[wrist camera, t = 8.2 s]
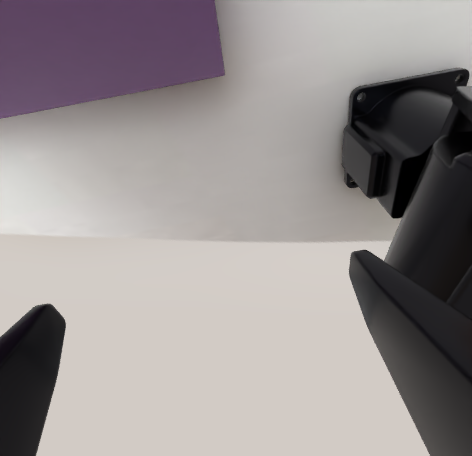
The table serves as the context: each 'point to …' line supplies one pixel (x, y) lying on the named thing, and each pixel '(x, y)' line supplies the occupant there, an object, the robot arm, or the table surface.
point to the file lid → (101, 49)
